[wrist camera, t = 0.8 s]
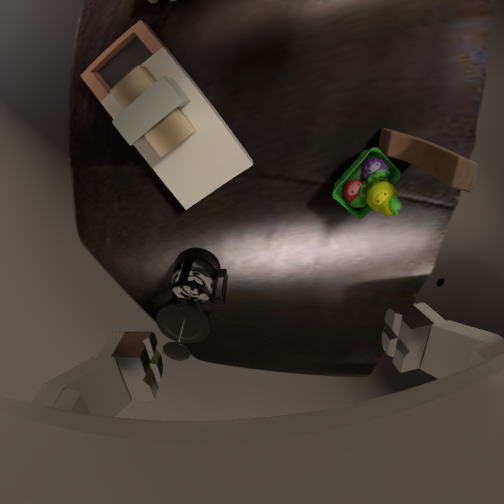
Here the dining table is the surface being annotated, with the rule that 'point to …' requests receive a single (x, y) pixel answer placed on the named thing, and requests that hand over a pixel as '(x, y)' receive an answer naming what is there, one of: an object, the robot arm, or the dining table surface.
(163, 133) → the maple bar
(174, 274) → the french press
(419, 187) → the dining table surface
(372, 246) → the dining table surface
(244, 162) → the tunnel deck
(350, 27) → the dining table surface
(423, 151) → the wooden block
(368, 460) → the robot arm
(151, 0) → the egg carton
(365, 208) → the fruit basket
